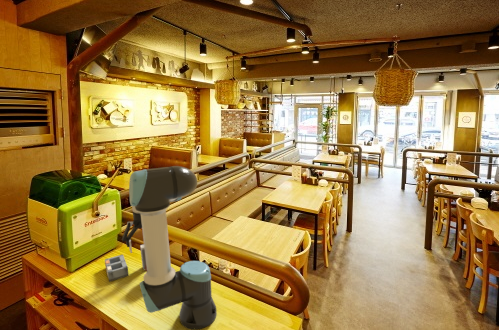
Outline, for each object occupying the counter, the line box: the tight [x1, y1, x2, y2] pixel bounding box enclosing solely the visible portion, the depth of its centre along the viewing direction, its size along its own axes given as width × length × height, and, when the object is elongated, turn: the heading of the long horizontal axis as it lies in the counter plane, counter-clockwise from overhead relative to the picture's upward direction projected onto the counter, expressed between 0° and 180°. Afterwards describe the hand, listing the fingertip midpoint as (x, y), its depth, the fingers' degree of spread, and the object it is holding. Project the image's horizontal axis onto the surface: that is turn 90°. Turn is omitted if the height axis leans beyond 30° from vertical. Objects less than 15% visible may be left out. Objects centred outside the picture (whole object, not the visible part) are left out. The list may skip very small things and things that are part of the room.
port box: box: [104, 254, 130, 283], centre depth 148 cm, size 14×9×5 cm, turn 33°
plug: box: [139, 243, 146, 271], centre depth 151 cm, size 4×4×13 cm
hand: (144, 247), depth 150 cm, fingers open, 13 cm apart
